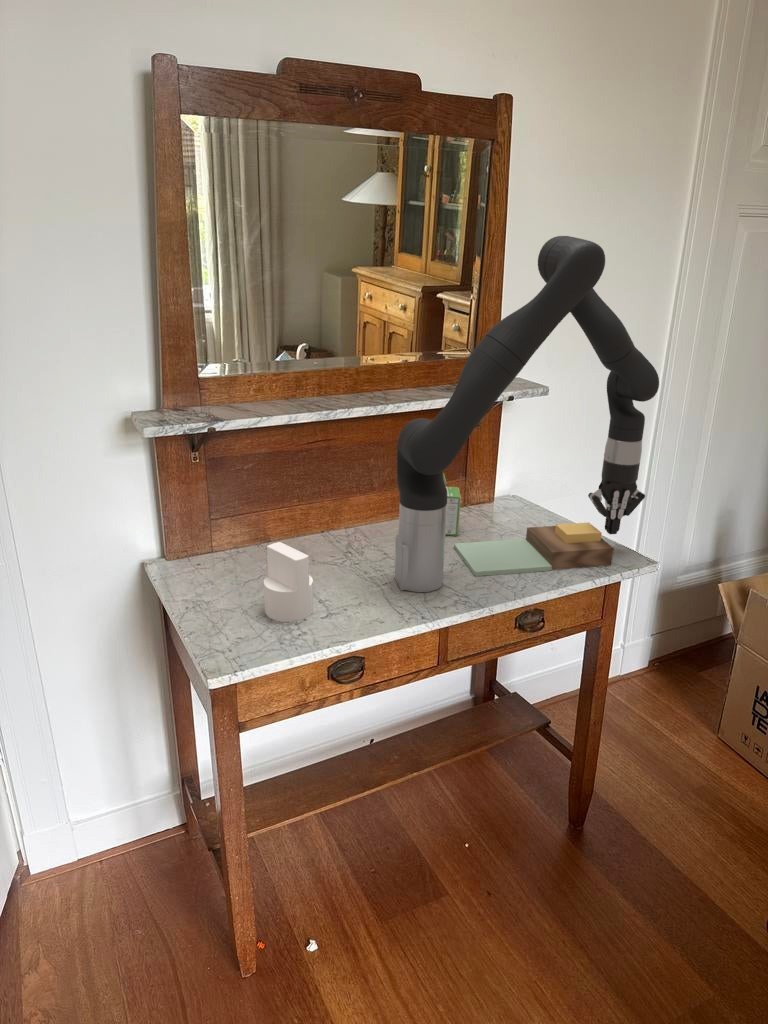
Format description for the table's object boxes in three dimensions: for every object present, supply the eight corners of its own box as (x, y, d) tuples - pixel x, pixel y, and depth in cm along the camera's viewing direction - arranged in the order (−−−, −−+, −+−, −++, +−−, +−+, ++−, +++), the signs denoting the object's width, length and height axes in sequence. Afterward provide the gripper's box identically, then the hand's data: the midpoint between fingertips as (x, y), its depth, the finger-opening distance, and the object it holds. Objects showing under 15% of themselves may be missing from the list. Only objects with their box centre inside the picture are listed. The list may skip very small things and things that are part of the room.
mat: (474, 576, 156) (475, 571, 156) (453, 547, 170) (453, 543, 169) (551, 570, 159) (552, 566, 159) (524, 542, 173) (525, 538, 173)
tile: (566, 543, 163) (567, 534, 162) (555, 532, 168) (555, 524, 168) (600, 541, 165) (601, 532, 164) (588, 530, 170) (589, 522, 169)
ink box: (458, 536, 176) (462, 481, 171) (441, 536, 176) (444, 481, 171) (456, 525, 182) (460, 472, 178) (440, 524, 182) (443, 472, 178)
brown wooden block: (550, 569, 160) (552, 552, 158) (525, 543, 173) (527, 527, 171) (611, 565, 163) (613, 548, 161) (582, 539, 175) (584, 524, 174)
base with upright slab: (255, 609, 141) (252, 550, 136) (293, 594, 147) (291, 537, 142) (284, 626, 135) (282, 565, 131) (323, 610, 141) (322, 551, 136)
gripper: (601, 464, 157) (591, 541, 163) (659, 462, 160) (647, 537, 166) (585, 454, 164) (576, 528, 170) (640, 452, 167) (630, 525, 173)
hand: (611, 532), depth 168 cm, fingers closed
